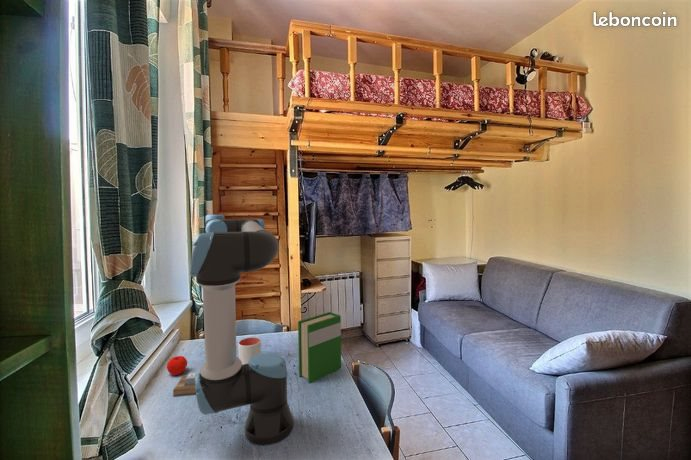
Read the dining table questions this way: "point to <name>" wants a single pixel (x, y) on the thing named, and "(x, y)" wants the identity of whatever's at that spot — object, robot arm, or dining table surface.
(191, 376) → the key three dots
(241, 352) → the cup
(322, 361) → the hardback book
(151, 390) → the dining table surface
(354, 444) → the dining table surface
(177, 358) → the apple
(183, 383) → the key board
